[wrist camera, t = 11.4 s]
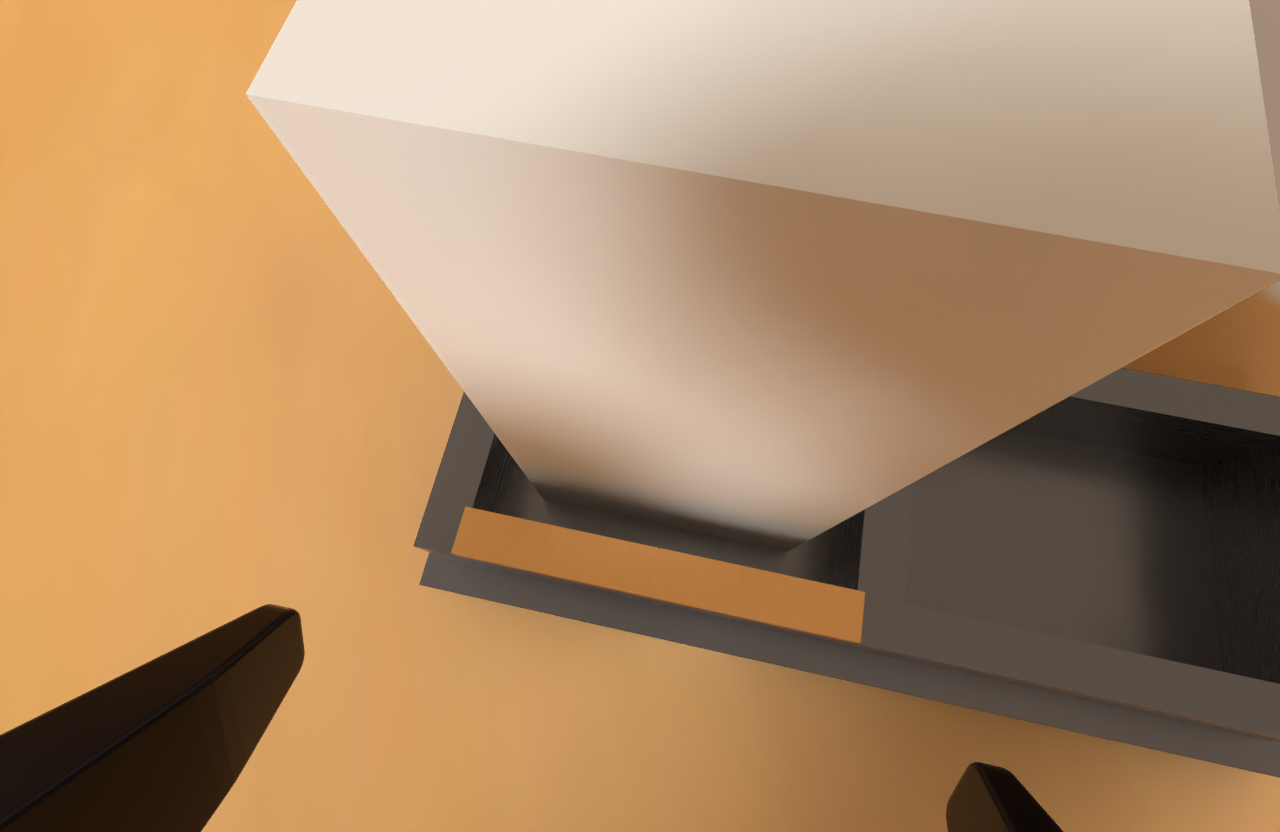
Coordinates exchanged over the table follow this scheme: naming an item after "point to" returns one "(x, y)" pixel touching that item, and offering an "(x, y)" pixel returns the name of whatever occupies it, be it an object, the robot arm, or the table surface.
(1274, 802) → the table surface
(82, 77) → the table surface
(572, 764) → the table surface
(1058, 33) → the white rectangular block
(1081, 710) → the rack
